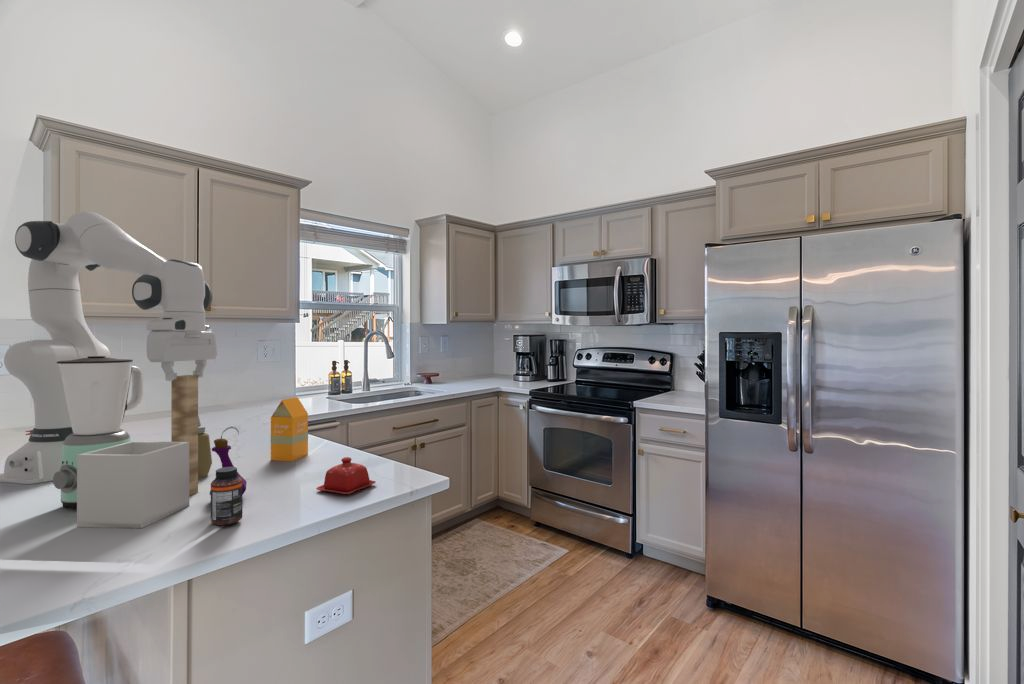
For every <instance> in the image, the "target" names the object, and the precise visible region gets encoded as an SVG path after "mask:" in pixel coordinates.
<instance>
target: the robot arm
mask: <svg viewBox="0 0 1024 684" xmlns="http://www.w3.org/2000/svg"><path fill="white" fill-rule="evenodd" d="M14 244H15V246H16V248H17V249H16V250H18V252H19V253H20V254H21V255H22V256H23V257H25V258H27V259H30V262H29V266H28V274H27V275H28V277H27V288H28V301H29V311H30V312H29V313H30V317H31V320H32V321H33V322H34V323H36V324H37V325H38V326H41V327H42V328H43V329H45V330H46V331H47V333H48V334H49V336H50V337H51V339H31V340H27V341H22V342H17V343H14V344H11V346H9V348H8V349H7V350H6V351H5V354H4V356H3V364H4V367H5V369H6V371H7V372H8V373H9V374H10V375H11V376H13V377H14V378H16V379H18V380H19V381H20V382H22V383H23V384H24V385H25V387H26V388H27V389H28V391H29V393H30V395H31V397H32V402H33V407H34V410H33V411H34V427H33V429H31V430H25V433H26V434H25V436H29V438H28V440H27V441H28V442H26V443H25V444H24V445H21V447H20V448H18V449H17V450H15V451H13V453H10V455H8V456H7V458H6V459H5V461H4V469H3V472H2V473H0V483H1V482H4V483H11V484H13V483H14V484H21V485H33V484H40V483H45V482H53V476H54V474H55V473H56V472H58V471H60V468H61V449H62V444H63V442H64V440H65V439H66V437H68V436H69V435H70V434H73V430H72V426H71V421H70V417H69V412H68V407H67V402H66V397H65V392H64V387H63V382H62V376H61V371H60V368H59V365H58V364H57V362H58V361H66V360H75V359H81V358H88V356H106V357H105V358H112V357H111V351H110V350H109V348H108V347H107V345H106V344H104V343H103V342H101V341H100V340H99V339H97V337H95V336H94V334H93V333H92V331H91V330H90V328H89V325H88V324H87V322H86V319H85V315H84V311H83V309H84V308H83V304H82V294H81V284H80V280H79V279H80V278H79V274H80V271H81V270H82V269H83V268H85V269H86V270H87V271H90V272H92V271H94V270H95V269H97V268H99V267H102V268H104V269H107V270H110V271H114V272H115V271H116V272H122V273H127V274H133V275H139V277H138V278H136V279H135V281H134V283H133V285H132V287H131V296H132V299H133V301H134V303H135V304H136V306H137V307H138V308H139V309H141V310H144V311H148V312H155V313H163V316H160V317H157V318H154V319H151V320H149V321H147V323H146V330H147V331H149V332H148V333H147V337H146V356H147V359H148V361H149V362H150V363H161V364H160V366H161V369H162V371H163V372H164V374H165V377H164V378H165V381H167V382H171V381H174V380H176V379H177V377H176V376H178V373H177V372H175V371H174V368H173V367H174V366H175V362H187V361H189V362H191V361H194V364H195V366H196V367H195V369H194V370H193V371H192V375H198V379H201V378H203V377H204V370H205V368H206V366H207V361H208V360H209V361H210V360H215V359H216V357H217V356H218V351H217V339H216V336H215V333H214V330H213V329H212V327H210V325H209V324H208V325H206V311H207V310H208V309H210V306H211V305H212V302H213V292H212V290H211V288H210V286H209V284H208V283H207V282H206V281H205V276H204V274H205V273H204V271H203V270H204V269H203V267H202V265H200V264H199V263H197V262H192V261H187V260H183V259H182V260H179V259H176V258H175V259H173V258H171V259H166V258H165V257H163V256H161V255H160V254H158V253H156V252H154V251H153V250H152V249H150V248H148V247H147V246H145V245H143V244H142V243H141V242H139V241H137V239H135V238H134V237H132V236H131V235H130V234H129V233H127V232H126V231H124V230H123V229H122V228H121V227H120V226H118V224H116V223H114V222H113V221H111V220H110V219H109V218H107V217H105V216H103V215H102V214H99V213H97V212H94V211H89V210H84V211H82V210H81V211H78V212H76V213H74V214H72V215H70V217H68V219H67V221H66V223H57V222H53V221H51V220H33V221H32V220H31V221H26V222H23V223H22V224H20V225H19V226H18V227H17V229H16V231H15V236H14Z"/></svg>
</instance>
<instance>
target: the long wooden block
mask: <svg viewBox="0 0 1024 684" xmlns="http://www.w3.org/2000/svg"><path fill="white" fill-rule="evenodd" d="M176 377H177V379H176V380H174V381H170V384H171V389H170V390H171V392H170V393H171V397H170V398H171V409H170V410H171V411H170V412H171V416H170V418H171V419H170V421H171V423H170V424H171V429H170V430H171V441H170V442H189V497H191V496H193V495H196V494H197V493H199V479H198V416H199V378H198V375H193V374H181V375H178V374H177V376H176Z"/></svg>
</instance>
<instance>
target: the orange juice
mask: <svg viewBox="0 0 1024 684" xmlns="http://www.w3.org/2000/svg"><path fill="white" fill-rule="evenodd" d="M307 455H309V413H308V412H307V410H306V409H305V407H304V405H303V403H302V402H301V400H300V399H299V397H298V396H296V397H290V398H287V399H281V401H280V402H279V404H278V406H277V407H276V409H275V410H274V411H273V414H272V415H271V416H270V461H280V462H281V461H283V462H294V461H295V460H296V461H297V460H298V459H300V458H302V457H305V456H307Z"/></svg>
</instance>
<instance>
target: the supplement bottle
mask: <svg viewBox="0 0 1024 684" xmlns="http://www.w3.org/2000/svg"><path fill="white" fill-rule="evenodd" d="M237 472H238V468H237V467H235V466H234V467H223V468H222V467H220V468H218V469H216V470H215V478H214V479H213V480H212V481H211V482H210V490H211V495H210V523H211V524H212V525H214V526H229V525H232V524H236V523H237V522H239V521H241V520H242V518H243V495H242V479H241V478H240V477H238V475H237Z"/></svg>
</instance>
